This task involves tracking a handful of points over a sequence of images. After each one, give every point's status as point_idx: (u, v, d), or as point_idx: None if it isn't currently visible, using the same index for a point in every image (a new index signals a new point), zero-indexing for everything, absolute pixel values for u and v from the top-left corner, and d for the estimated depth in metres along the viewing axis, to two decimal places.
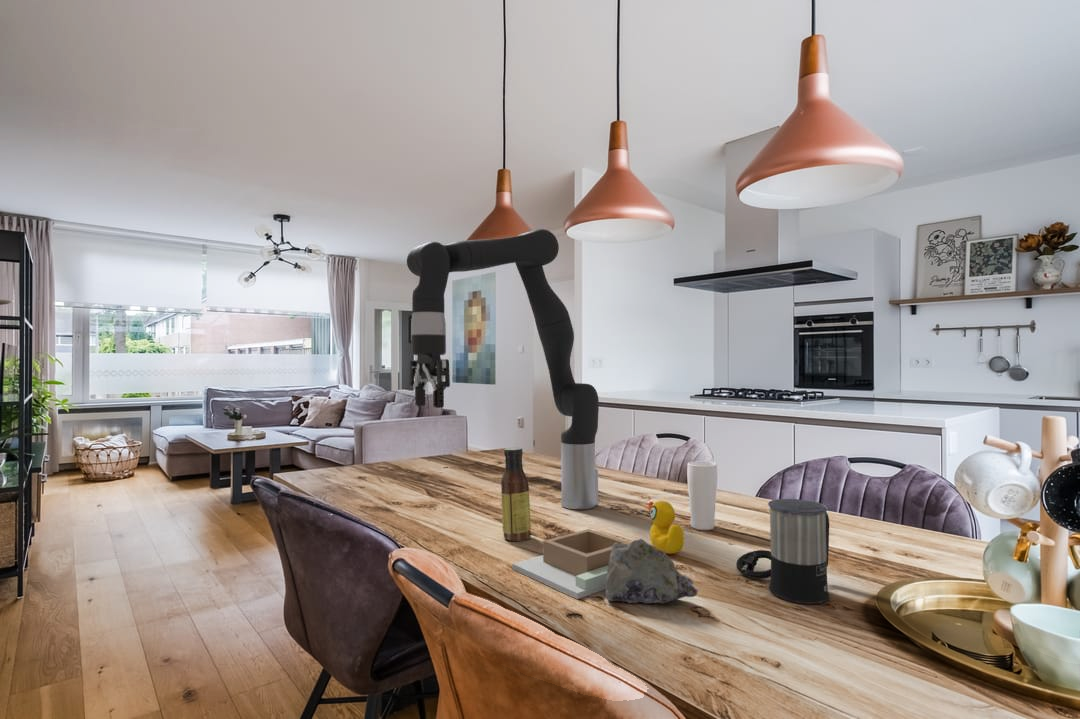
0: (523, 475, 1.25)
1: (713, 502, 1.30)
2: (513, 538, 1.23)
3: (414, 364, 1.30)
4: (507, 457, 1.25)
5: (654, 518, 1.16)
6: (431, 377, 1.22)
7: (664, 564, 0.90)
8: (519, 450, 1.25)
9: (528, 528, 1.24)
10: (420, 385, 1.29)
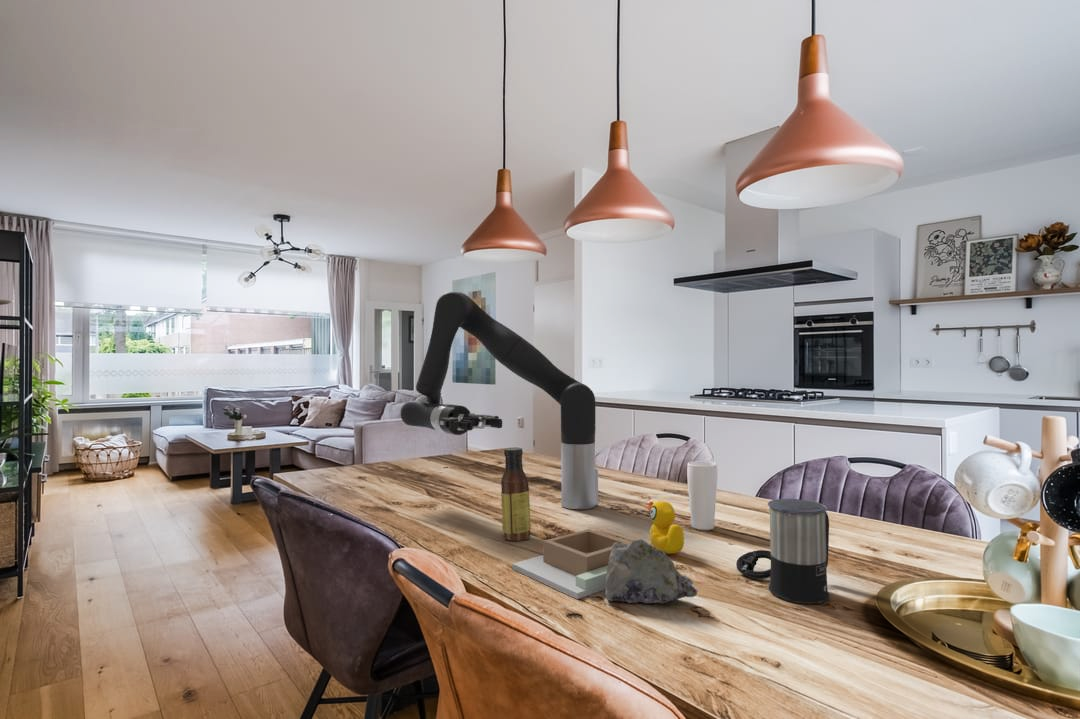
0: (523, 475, 1.25)
1: (713, 502, 1.30)
2: (513, 538, 1.23)
3: None
4: (507, 457, 1.25)
5: (654, 518, 1.16)
6: None
7: (664, 564, 0.90)
8: (519, 450, 1.25)
9: (528, 528, 1.24)
10: (489, 421, 1.41)
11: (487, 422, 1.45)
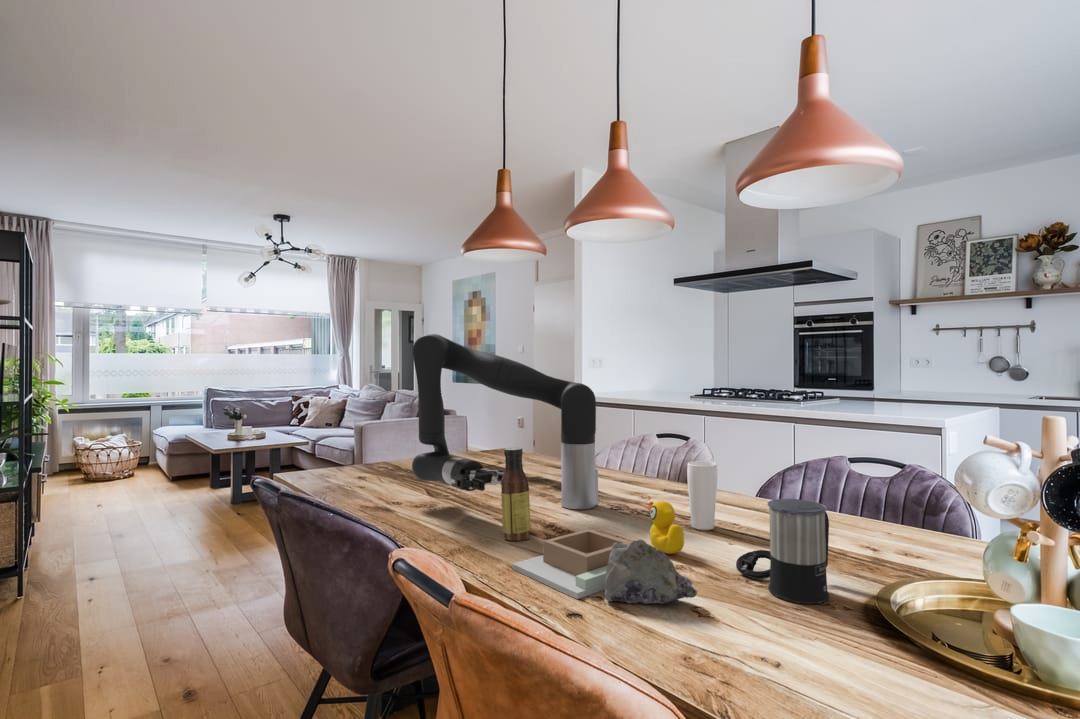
0: (523, 475, 1.25)
1: (713, 502, 1.30)
2: (513, 538, 1.23)
3: None
4: (507, 457, 1.25)
5: (654, 518, 1.16)
6: None
7: (664, 564, 0.90)
8: (519, 450, 1.25)
9: (528, 528, 1.24)
10: None
11: (500, 477, 1.41)
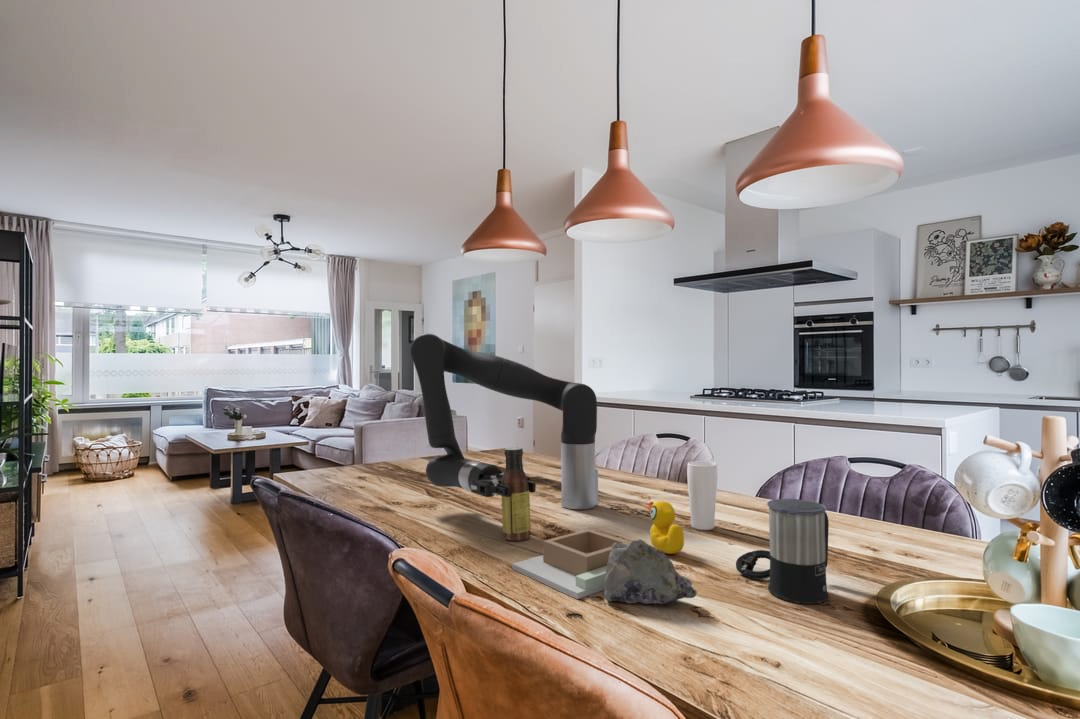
0: (523, 475, 1.25)
1: (713, 502, 1.30)
2: (513, 538, 1.23)
3: None
4: (507, 457, 1.25)
5: (654, 518, 1.16)
6: (492, 493, 1.27)
7: (663, 565, 0.90)
8: (519, 450, 1.25)
9: (528, 528, 1.24)
10: None
11: None
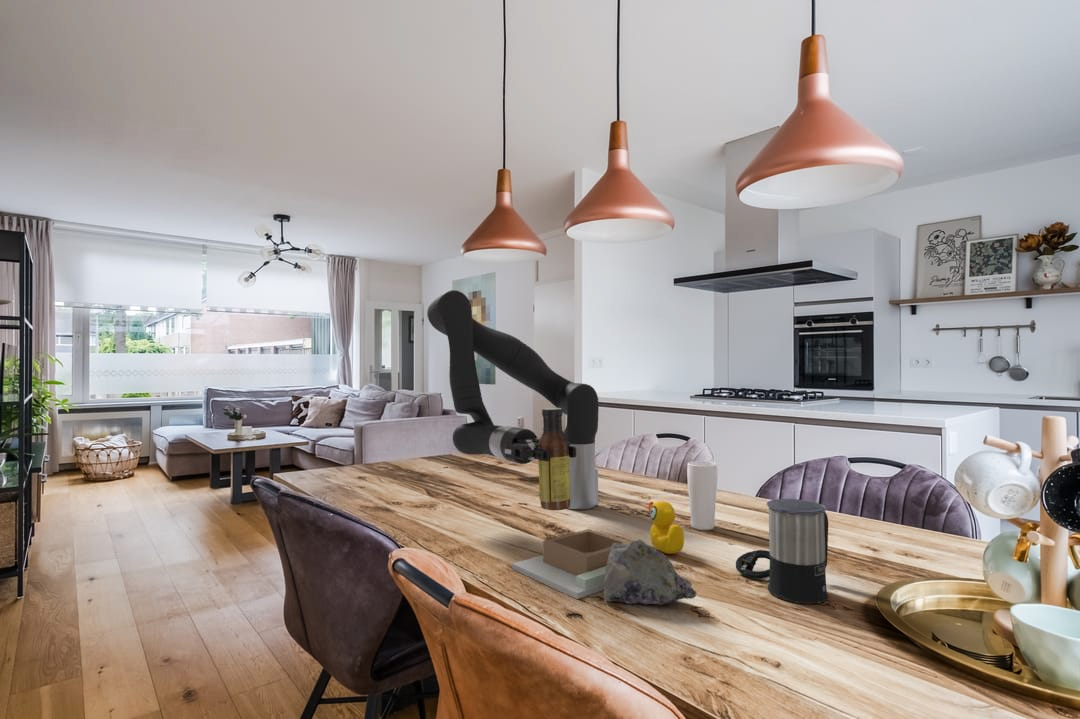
0: (563, 438, 1.12)
1: (713, 502, 1.30)
2: (551, 507, 1.11)
3: None
4: (545, 417, 1.12)
5: (654, 518, 1.16)
6: (528, 458, 1.15)
7: (663, 565, 0.89)
8: (559, 410, 1.12)
9: (568, 496, 1.12)
10: None
11: None
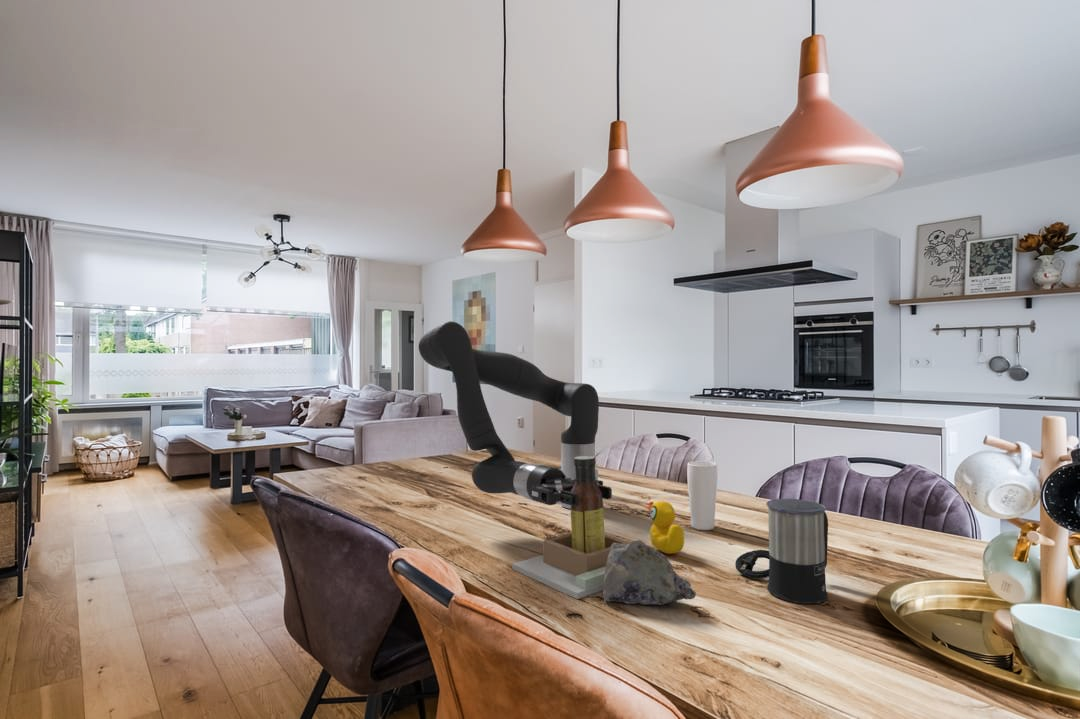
0: (597, 489, 1.06)
1: (713, 502, 1.30)
2: None
3: None
4: (578, 468, 1.06)
5: (654, 518, 1.16)
6: None
7: (662, 565, 0.89)
8: (592, 459, 1.06)
9: None
10: None
11: None
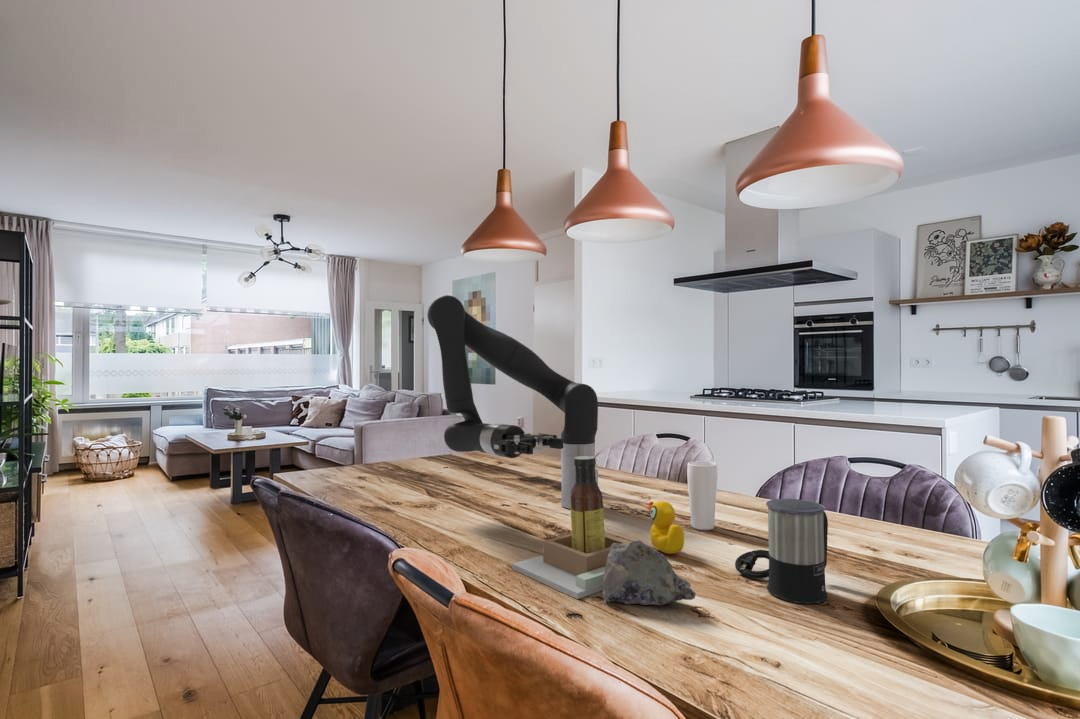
0: (597, 489, 1.06)
1: (713, 502, 1.30)
2: None
3: None
4: (578, 468, 1.06)
5: (654, 518, 1.16)
6: None
7: (662, 566, 0.89)
8: (592, 459, 1.06)
9: None
10: (548, 442, 1.28)
11: (544, 442, 1.31)
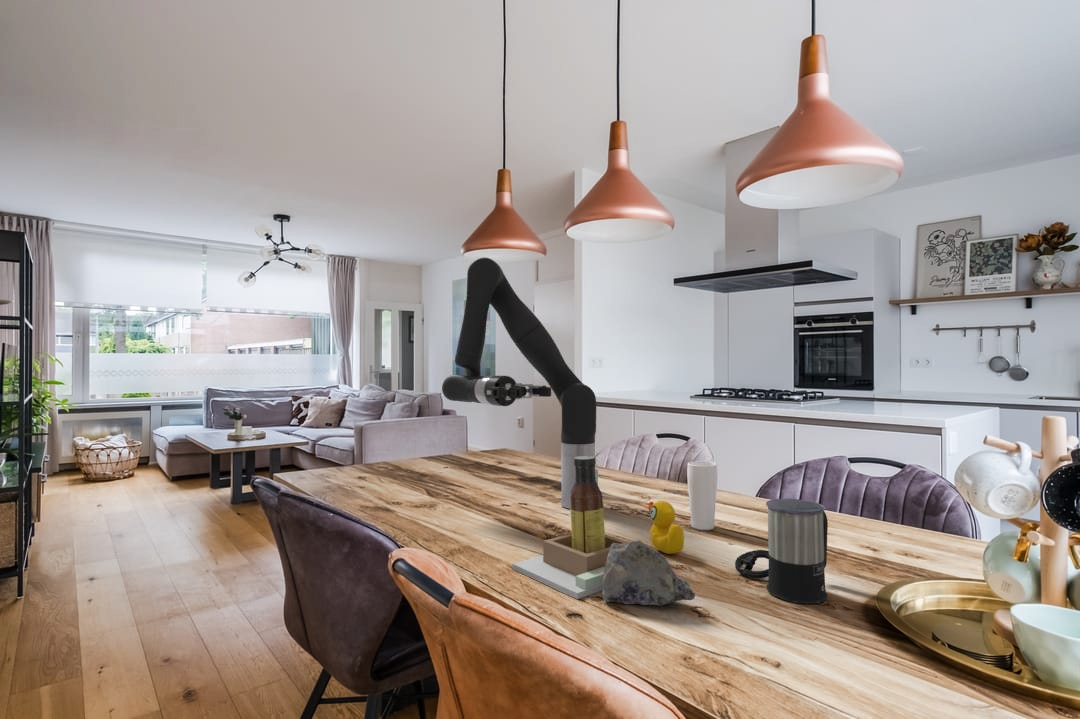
0: (597, 489, 1.06)
1: (713, 502, 1.30)
2: None
3: None
4: (578, 468, 1.06)
5: (654, 518, 1.16)
6: (505, 398, 1.33)
7: (661, 566, 0.89)
8: (592, 459, 1.06)
9: None
10: (537, 391, 1.36)
11: (534, 392, 1.40)
